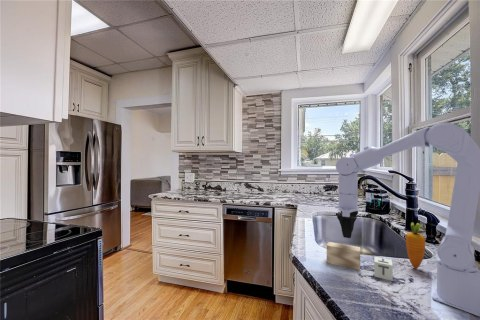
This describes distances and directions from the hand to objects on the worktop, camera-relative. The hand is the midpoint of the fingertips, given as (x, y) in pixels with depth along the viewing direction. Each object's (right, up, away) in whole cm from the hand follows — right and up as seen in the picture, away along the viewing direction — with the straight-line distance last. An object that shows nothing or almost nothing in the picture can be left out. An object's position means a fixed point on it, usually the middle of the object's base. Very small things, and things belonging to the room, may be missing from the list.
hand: (348, 234), depth 73 cm
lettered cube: (+7, -10, -7) cm, 14 cm away
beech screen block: (-1, -10, +1) cm, 11 cm away
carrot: (+21, -11, -2) cm, 23 cm away
